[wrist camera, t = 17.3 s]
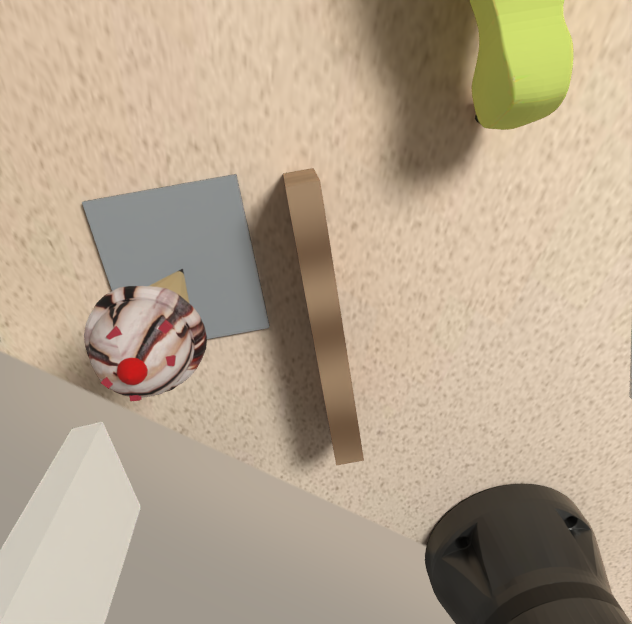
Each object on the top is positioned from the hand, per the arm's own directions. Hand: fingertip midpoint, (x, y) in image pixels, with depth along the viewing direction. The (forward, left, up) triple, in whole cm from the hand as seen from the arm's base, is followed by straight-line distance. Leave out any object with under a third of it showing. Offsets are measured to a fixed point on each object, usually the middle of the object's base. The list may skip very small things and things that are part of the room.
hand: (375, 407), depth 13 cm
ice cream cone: (-3, +9, -24) cm, 26 cm away
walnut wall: (-8, 0, -24) cm, 26 cm away
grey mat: (-3, +9, -24) cm, 26 cm away
